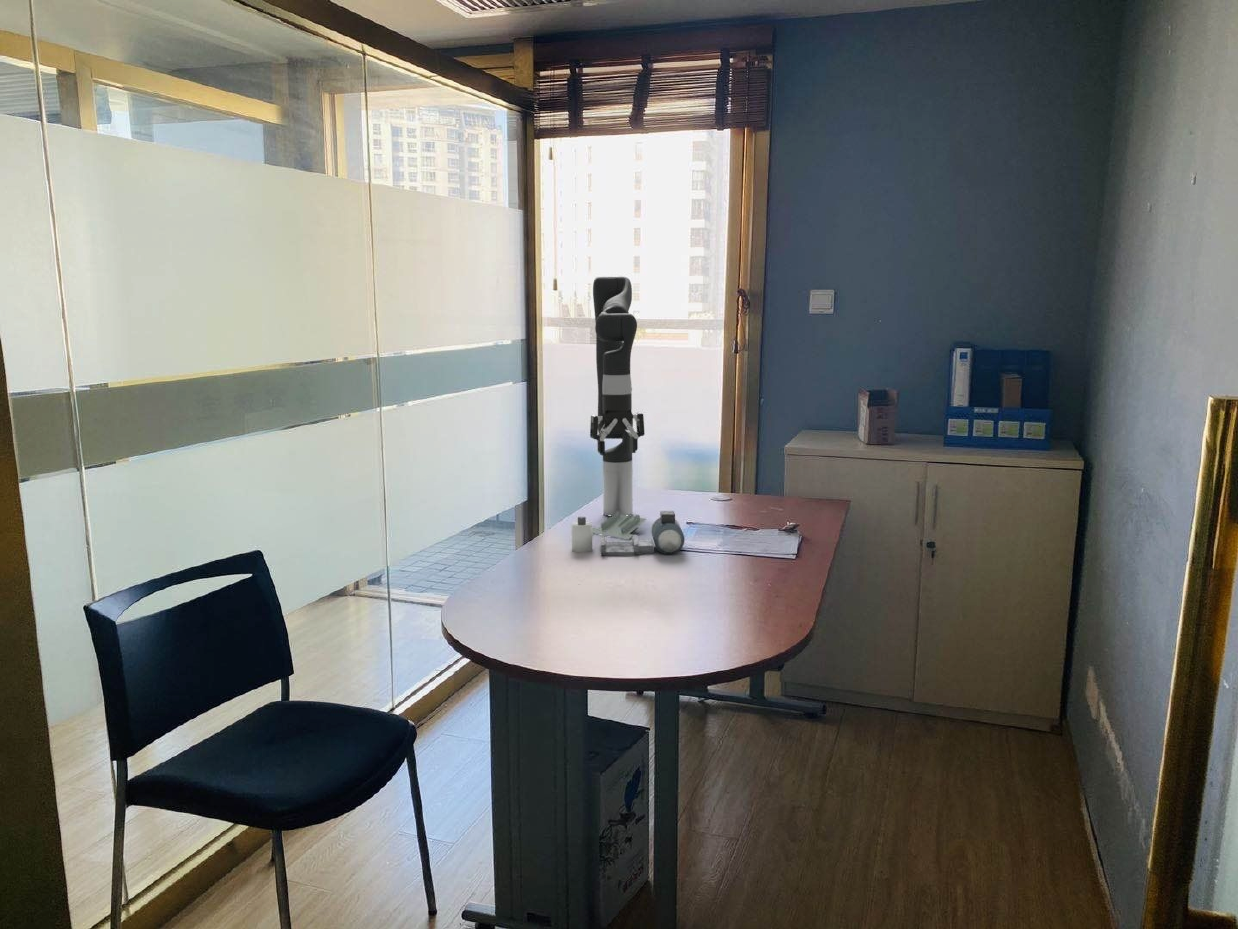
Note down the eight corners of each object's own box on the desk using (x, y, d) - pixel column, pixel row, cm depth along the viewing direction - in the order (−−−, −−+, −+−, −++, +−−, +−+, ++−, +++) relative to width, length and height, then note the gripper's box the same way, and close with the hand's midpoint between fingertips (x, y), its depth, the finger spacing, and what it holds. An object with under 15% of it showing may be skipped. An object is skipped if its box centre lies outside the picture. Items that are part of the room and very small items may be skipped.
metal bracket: (611, 506, 266) (652, 513, 258) (615, 523, 269) (655, 530, 260) (582, 529, 256) (624, 536, 247) (586, 546, 259) (628, 554, 250)
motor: (600, 545, 244) (600, 509, 242) (680, 544, 244) (680, 508, 242) (601, 557, 233) (600, 519, 231) (684, 555, 233) (685, 517, 232)
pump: (572, 546, 243) (571, 515, 242) (592, 546, 243) (592, 515, 242) (571, 552, 238) (571, 520, 236) (592, 551, 238) (592, 519, 236)
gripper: (637, 389, 235) (637, 449, 238) (586, 391, 230) (587, 453, 233) (648, 391, 228) (648, 454, 231) (595, 394, 223) (596, 458, 226)
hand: (617, 453), depth 232 cm, fingers open, 8 cm apart
